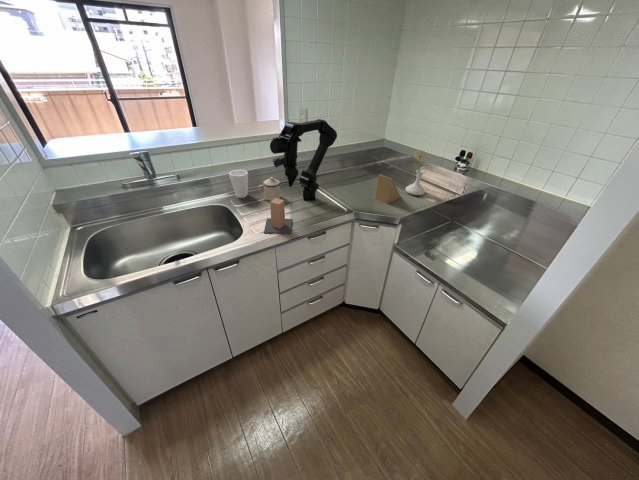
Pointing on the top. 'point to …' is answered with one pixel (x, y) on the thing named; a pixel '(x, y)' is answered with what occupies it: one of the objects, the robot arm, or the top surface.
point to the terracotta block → (277, 213)
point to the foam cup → (239, 182)
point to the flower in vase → (416, 187)
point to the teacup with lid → (271, 189)
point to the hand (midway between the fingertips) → (289, 183)
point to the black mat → (284, 230)
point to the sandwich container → (386, 190)
